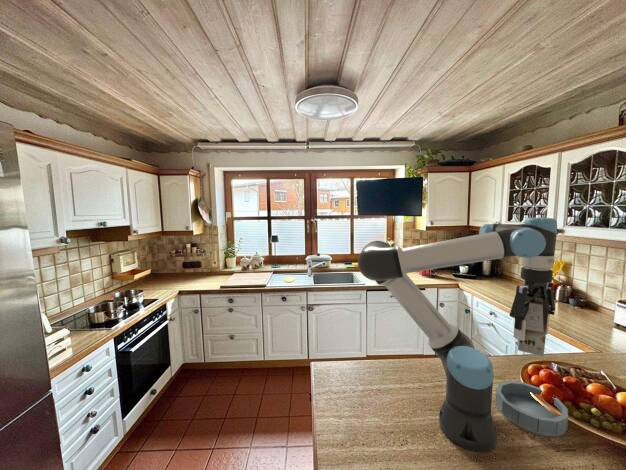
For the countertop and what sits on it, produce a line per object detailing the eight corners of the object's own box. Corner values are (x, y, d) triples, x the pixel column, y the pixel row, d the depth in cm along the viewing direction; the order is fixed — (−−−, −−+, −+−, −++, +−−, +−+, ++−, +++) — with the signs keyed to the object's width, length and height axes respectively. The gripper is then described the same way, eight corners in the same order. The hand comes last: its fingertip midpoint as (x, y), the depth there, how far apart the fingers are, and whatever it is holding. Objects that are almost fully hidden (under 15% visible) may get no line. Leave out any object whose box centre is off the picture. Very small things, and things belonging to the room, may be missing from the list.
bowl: (541, 444, 74) (542, 428, 74) (483, 401, 91) (484, 387, 90) (580, 427, 80) (581, 411, 79) (519, 389, 96) (520, 376, 96)
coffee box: (544, 357, 79) (549, 305, 77) (517, 350, 82) (521, 301, 81) (541, 344, 86) (546, 297, 84) (517, 338, 90) (520, 293, 88)
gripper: (525, 274, 74) (519, 348, 76) (574, 267, 82) (567, 334, 84) (498, 268, 81) (493, 336, 83) (546, 262, 89) (540, 324, 91)
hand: (530, 335), depth 84 cm, fingers closed on coffee box, 11 cm apart
